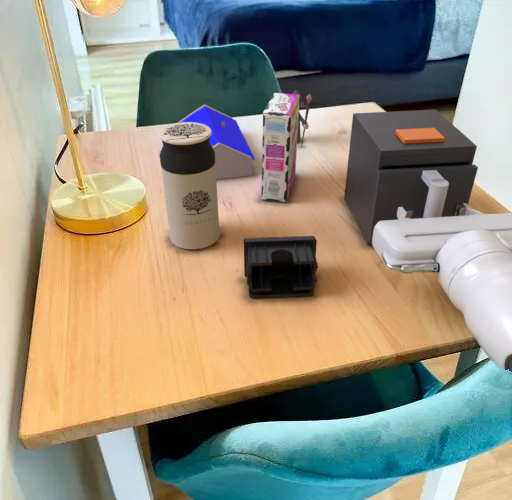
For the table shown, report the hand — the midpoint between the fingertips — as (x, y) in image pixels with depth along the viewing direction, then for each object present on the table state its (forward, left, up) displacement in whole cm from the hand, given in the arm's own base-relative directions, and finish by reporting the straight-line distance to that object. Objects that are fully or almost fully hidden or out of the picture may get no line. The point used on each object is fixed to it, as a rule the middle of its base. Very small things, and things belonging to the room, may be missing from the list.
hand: (430, 209), depth 72 cm
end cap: (+22, +3, -9) cm, 24 cm away
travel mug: (+34, -10, -9) cm, 36 cm away
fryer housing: (0, -12, -9) cm, 14 cm away
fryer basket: (0, -8, -7) cm, 11 cm away
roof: (+30, -41, -9) cm, 51 cm away
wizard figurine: (+11, -46, -9) cm, 48 cm away
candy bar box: (+18, -25, -9) cm, 32 cm away
